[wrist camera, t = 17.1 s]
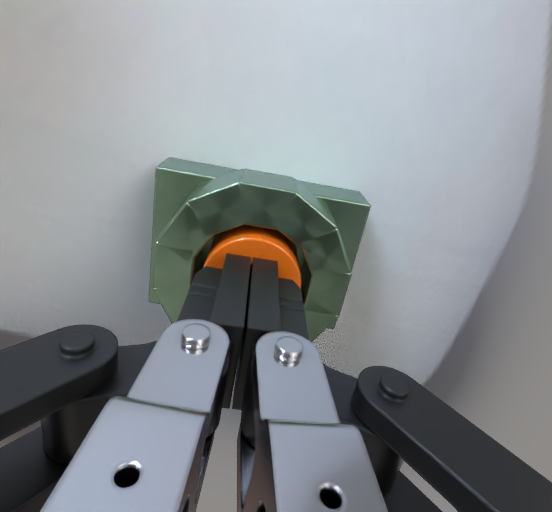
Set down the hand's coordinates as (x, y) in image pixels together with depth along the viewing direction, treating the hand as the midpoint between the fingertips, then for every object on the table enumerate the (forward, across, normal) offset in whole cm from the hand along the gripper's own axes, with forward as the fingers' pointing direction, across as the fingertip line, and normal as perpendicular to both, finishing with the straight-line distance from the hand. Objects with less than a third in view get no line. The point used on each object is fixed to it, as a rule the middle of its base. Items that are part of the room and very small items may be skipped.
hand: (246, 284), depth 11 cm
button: (+2, 0, 0) cm, 2 cm away
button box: (+4, 0, 0) cm, 4 cm away
